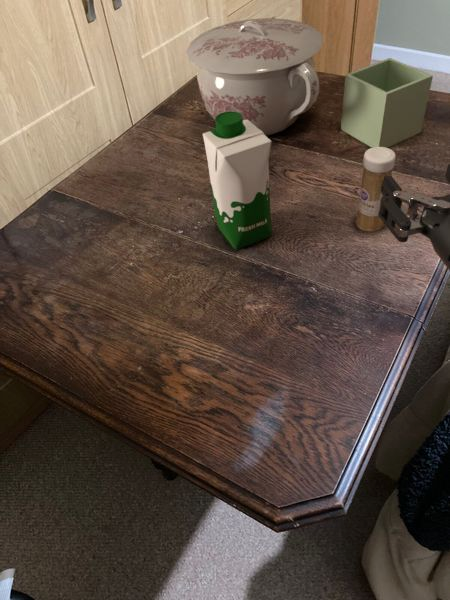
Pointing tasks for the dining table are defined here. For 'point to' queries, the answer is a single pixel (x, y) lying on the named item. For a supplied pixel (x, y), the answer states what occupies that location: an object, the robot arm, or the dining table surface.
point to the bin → (385, 102)
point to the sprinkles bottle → (373, 187)
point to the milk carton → (239, 179)
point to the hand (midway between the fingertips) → (417, 175)
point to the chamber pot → (258, 70)
